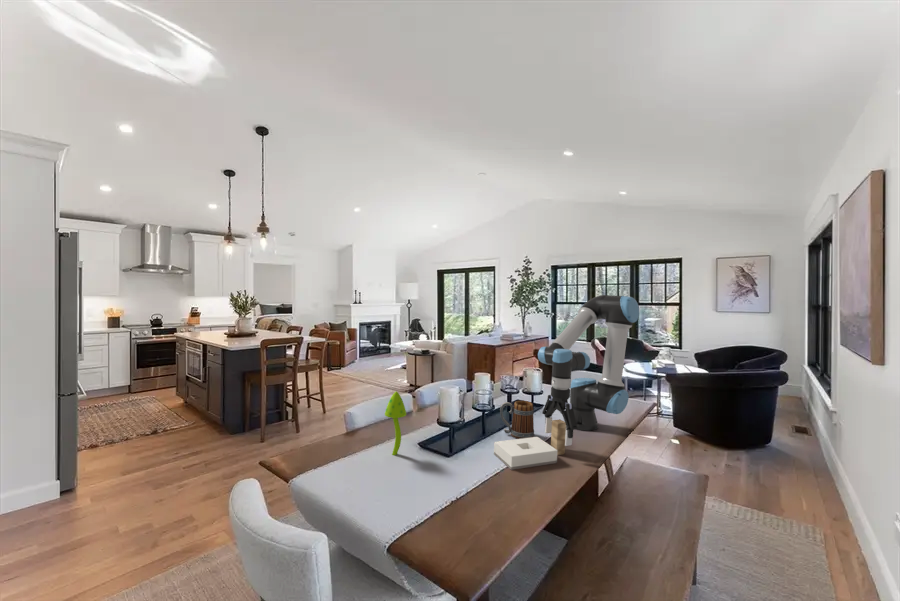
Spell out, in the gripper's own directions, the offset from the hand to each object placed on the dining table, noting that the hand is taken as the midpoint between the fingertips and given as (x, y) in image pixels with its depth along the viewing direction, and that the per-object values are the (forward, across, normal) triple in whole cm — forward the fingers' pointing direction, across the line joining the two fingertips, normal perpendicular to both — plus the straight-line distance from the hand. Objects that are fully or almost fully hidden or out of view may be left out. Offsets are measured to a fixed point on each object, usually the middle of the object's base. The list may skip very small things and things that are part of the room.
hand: (557, 438), depth 166 cm
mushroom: (+6, -17, -64) cm, 66 cm away
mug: (+6, -21, -7) cm, 23 cm away
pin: (+6, 0, 0) cm, 6 cm away
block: (+6, +1, -16) cm, 17 cm away
